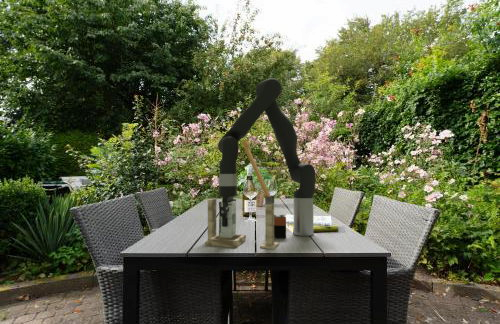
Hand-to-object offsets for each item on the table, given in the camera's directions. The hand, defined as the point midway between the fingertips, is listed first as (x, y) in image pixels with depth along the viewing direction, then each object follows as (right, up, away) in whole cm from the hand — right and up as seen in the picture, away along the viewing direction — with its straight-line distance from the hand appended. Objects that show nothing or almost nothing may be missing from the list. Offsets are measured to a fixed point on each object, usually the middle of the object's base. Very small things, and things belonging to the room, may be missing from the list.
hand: (227, 225), depth 131 cm
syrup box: (0, -5, 0) cm, 5 cm away
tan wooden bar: (+12, +22, -3) cm, 25 cm away
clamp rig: (+6, -7, -2) cm, 10 cm away
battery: (+22, -8, +11) cm, 26 cm away
